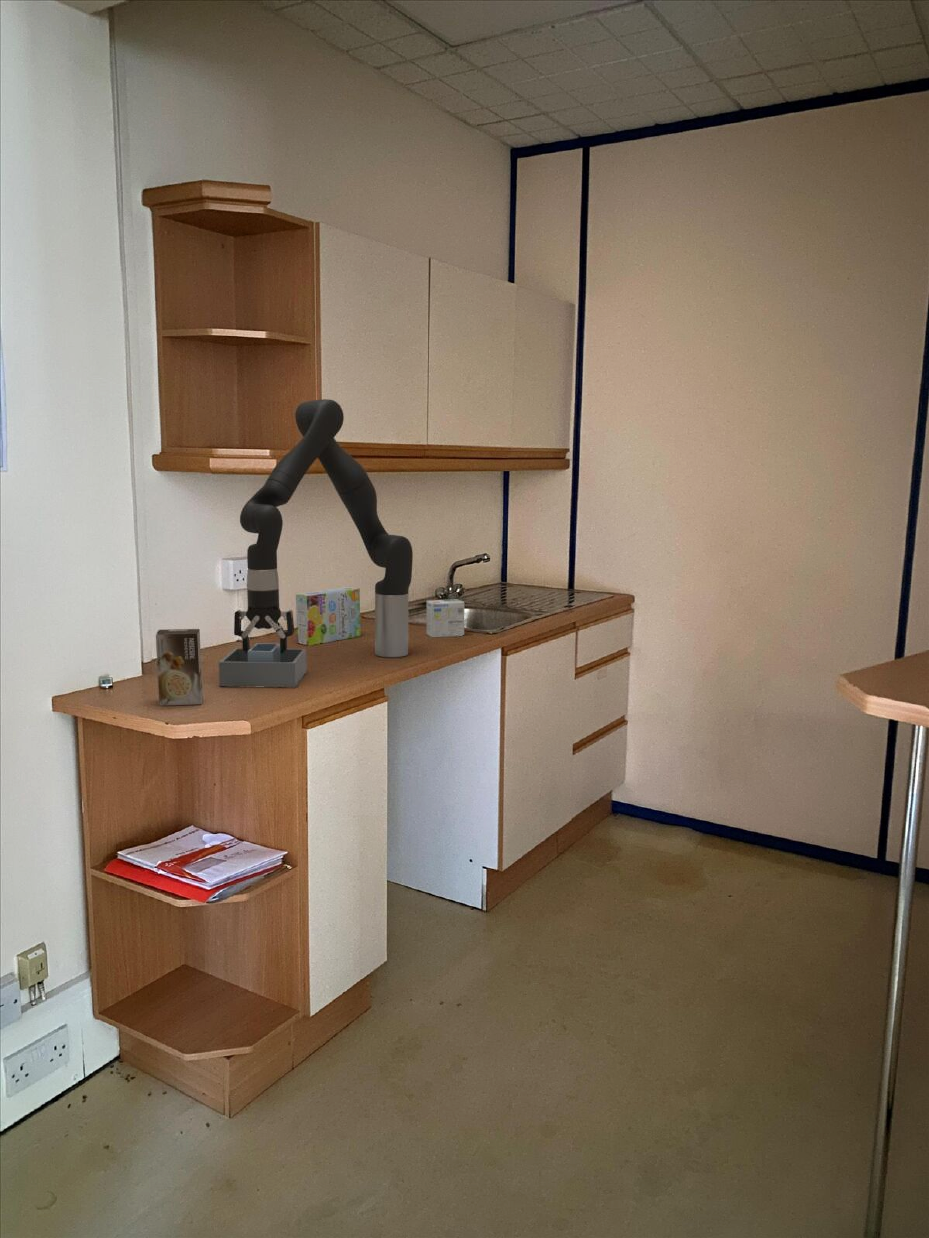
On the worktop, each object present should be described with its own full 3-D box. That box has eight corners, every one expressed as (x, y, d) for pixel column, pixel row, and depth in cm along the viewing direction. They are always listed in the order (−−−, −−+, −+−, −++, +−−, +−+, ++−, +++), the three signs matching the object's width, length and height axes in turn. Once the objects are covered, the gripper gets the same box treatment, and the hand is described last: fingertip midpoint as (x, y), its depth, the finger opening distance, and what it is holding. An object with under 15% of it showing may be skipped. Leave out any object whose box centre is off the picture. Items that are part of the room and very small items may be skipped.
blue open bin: (256, 670, 245) (256, 643, 243) (280, 670, 245) (280, 643, 244) (248, 679, 235) (247, 651, 234) (273, 680, 235) (272, 651, 234)
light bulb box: (457, 632, 307) (458, 598, 305) (465, 636, 301) (465, 601, 299) (425, 634, 303) (425, 599, 302) (432, 638, 297) (432, 603, 295)
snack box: (348, 634, 301) (348, 586, 299) (361, 636, 298) (361, 587, 295) (295, 644, 285) (295, 593, 282) (308, 646, 281) (308, 594, 279)
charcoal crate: (235, 671, 248) (235, 648, 247) (306, 672, 248) (306, 649, 247) (219, 686, 231) (218, 662, 230) (295, 687, 232) (295, 663, 231)
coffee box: (203, 697, 221) (201, 628, 218) (201, 705, 215) (198, 633, 212) (161, 699, 219) (159, 628, 217) (157, 706, 213) (155, 634, 211)
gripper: (295, 585, 240) (296, 649, 243) (237, 584, 240) (239, 649, 243) (289, 589, 232) (291, 656, 235) (229, 589, 232) (232, 655, 235)
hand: (264, 652), depth 239 cm, fingers open, 8 cm apart
